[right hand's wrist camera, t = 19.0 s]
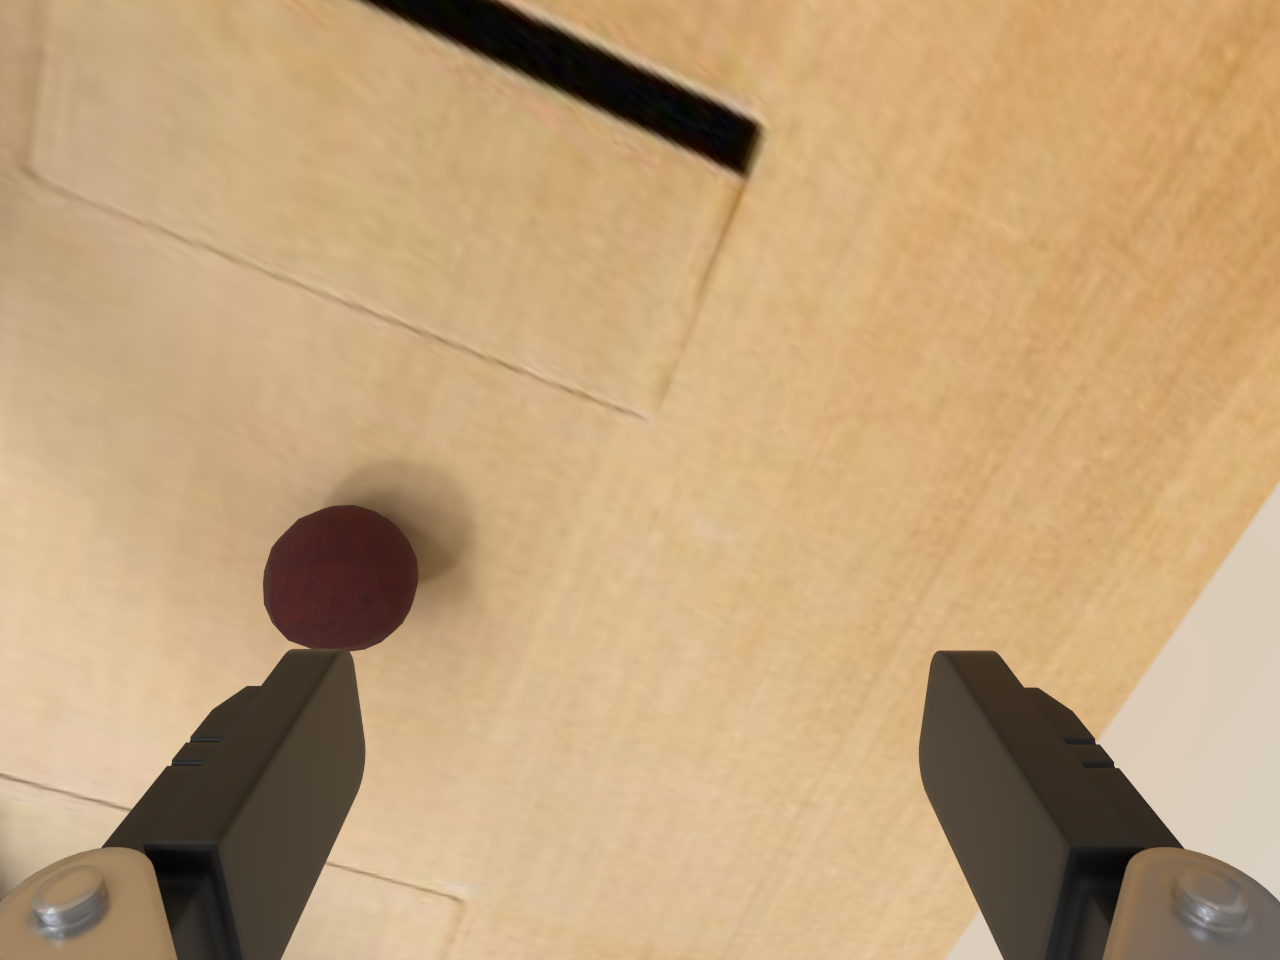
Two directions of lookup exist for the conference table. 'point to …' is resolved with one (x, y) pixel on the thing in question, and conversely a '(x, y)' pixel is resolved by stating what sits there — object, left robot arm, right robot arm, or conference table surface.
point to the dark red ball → (340, 579)
